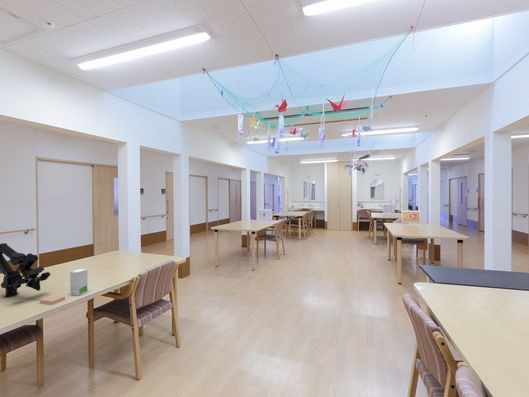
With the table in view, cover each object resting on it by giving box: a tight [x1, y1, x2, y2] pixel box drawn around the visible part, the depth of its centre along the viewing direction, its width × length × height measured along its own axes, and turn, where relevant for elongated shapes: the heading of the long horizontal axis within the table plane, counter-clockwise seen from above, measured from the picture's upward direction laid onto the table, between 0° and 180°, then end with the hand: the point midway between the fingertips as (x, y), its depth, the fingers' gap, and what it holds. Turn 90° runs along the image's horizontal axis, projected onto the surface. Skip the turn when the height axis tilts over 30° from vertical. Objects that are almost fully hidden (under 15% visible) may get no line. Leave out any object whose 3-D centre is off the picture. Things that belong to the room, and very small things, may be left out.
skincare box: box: [69, 268, 89, 296], centre depth 182 cm, size 8×7×16 cm
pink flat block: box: [39, 294, 66, 306], centre depth 168 cm, size 2×8×10 cm
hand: (39, 290), depth 171 cm, fingers closed
